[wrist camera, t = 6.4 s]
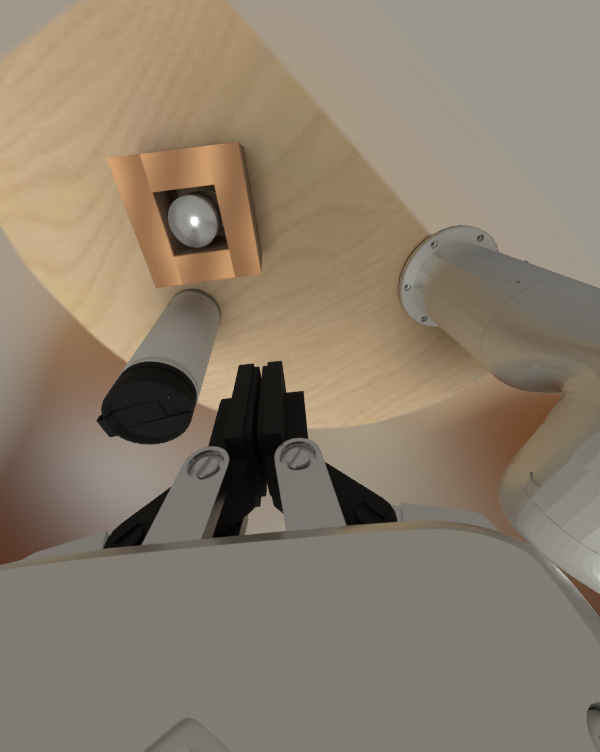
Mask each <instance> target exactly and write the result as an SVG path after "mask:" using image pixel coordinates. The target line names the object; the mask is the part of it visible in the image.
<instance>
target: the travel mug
mask: <svg viewBox="0 0 600 752" xmlns="http://www.w3.org/2000/svg"><path fill="white" fill-rule="evenodd" d="M220 318H221V316H220V310H219V307H218V305H217V303H216V302H215V301H214V299H212V298H211V297H210V296H209V295H207V294H206V293H204V292H201V291H198V290H184V291H181V292H179V293H178V294H176V295H175V296H174V297H173V298H172V300H171V301H170V303H169V304H168V306H167V307H166V309H165V310H164V311H163V313H162V314H161V316H160V317H159V319H158V320H157V322H156V323H155V324H154V326H153V327H152V329H151V330H150V332H149V333H148V335H147V336H146V337H145V339H144V340H143V342H142V343H141V345H140V346H139V348H138V349H137V350H136V352H135V353H134V355H133V356H132V358H131V359H130V361H129V362H128V363H127V365H126V367H125V368H124V369H123V371H122V372H121V374H120V375H119V377H118V380H117V381H116V382H115V384H114V385H113V387H112V388H111V389H110V391H109V393H108V394H107V395H106V397H105V399H104V400H103V403H102V408H101V409H102V410H101V411H102V415H100V416H99V417H98V419H97V422H98V423H99V425H100V426H101V427H102V428H103V430H104V431H105V432H106V433H107V435H108V436H109V437H114V436H120V437H121V438H123V439H125V440H127V441H131V442H134V443H139V444H160V443H165V442H168V441H170V440H173V439H175V438H177V437H178V436H180V435H181V434H182V433H184V432H185V431H186V429H187V428H188V426H189V425H190V422H191V419H192V416H193V412H194V408H195V406H196V404H197V401H198V397H199V394H200V390H201V387H202V383H203V380H204V376H205V373H206V369H207V365H208V362H209V358H210V355H211V351H212V348H213V344H214V341H215V337H216V334H217V330H218V326H219V323H220Z"/></svg>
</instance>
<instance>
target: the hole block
mask: <svg viewBox="0 0 600 752" xmlns="http://www.w3.org/2000/svg"><path fill="white" fill-rule="evenodd" d="M107 161H108V164H109V166H110V169H111V172H112V174H113V177H114V179H115V182H116V185H117V187H118V190H119V192H120V195H121V198H122V200H123V203H124V205H125V208H126V211H127V213H128V216H129V218H130V221H131V224H132V226H133V229H134V231H135V234H136V237H137V239H138V242H139V244H140V247H141V250H142V252H143V255H144V258H145V260H146V263H147V265H148V268H149V271H150V273H151V276H152V278H153V281H154V284H155V286H156V288H160V287H167V286H175V285H182V284H189V283H197V282H204V281H212V280H219V279H226V278H234V277H241V276H248V275H256V274H261V263H262V253H261V247H260V241H259V235H258V229H257V224H256V218H255V212H254V206H253V200H252V194H251V188H250V182H249V176H248V170H247V164H246V159H245V153H244V147H243V146H242V145H241V144H240V143H239V142H232V143H224V144H216V145H208V146H200V147H192V148H184V149H176V150H168V151H161V152H153V153H145V154H137V155H129V156H121V157H113V158H107ZM206 185H214V186H215V190H216V195H217V199H218V204H219V208H220V213H221V217H222V221H223V226H224V230H225V235H222V236H215V237H214V239H213V240H212V241H211V242H210V243H209V244H208V245H206V246H203V247H198V248H196V247H190V246H187V245H185V244H183V243H182V242H180V241H179V240H178V239H177V238H176V237H175V235H174V234H173V232H172V231H171V229H170V226H169V222H168V212H169V208H170V206H171V204H172V203H173V202H174V201H175V200H176V199H177V198H179V197H178V193H177V190H176V189H183V188H191V187H198V186H206Z"/></svg>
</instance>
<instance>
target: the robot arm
mask: <svg viewBox="0 0 600 752" xmlns="http://www.w3.org/2000/svg"><path fill="white" fill-rule="evenodd" d="M432 242H433V244H432V245H431V243H432ZM405 285H406V287H405ZM399 298H400V302H401V305H402V307H403V309H404V310H405V312H406V313H407V314H408V315H409V316H410V317H411V318H412V319H413V320H414V321H416V322H418V323H419V324H422V325H426V326H431V327H441V328H442V329H443V330H444V331H445V332H446V333H447V334H448V335H449V336H451V337H452V338H453V339H454V340H455V341H456V342H457V343H458V344H459V345H461V346H462V347H463V348H464V349H465V350H466V351H467V352H468V353H469V354H471V355H472V356H473V357H474V358H475V359H476V360H477V361H478V362H479V363H481V364H482V365H483V366H484V367H485V368H486V369H487V370H488V371H489V372H490V373H492V374H493V375H494V376H495V377H496V378H497V379H499V380H500V381H501V382H503V383H505V384H507V385H509V386H511V387H513V388H516V389H519V390H523V391H529V392H538V393H562V395H561V398H560V400H559V402H558V403H557V404H556V406H555V407H554V408H553V410H552V411H551V412H550V413H549V415H548V416H547V419H546V420H545V421H544V422H543V424H542V425H541V426H540V427H539V428H538V430H537V431H536V432H535V433H534V434H533V435H532V437H531V438H530V439H529V440H528V442H527V443H526V444H525V445H524V446H523V447H522V449H521V450H520V451H519V452H518V453H517V455H516V456H515V457H514V458H513V460H512V461H511V462H510V463H509V465H508V466H507V468H506V469H505V471H504V472H503V474H502V476H501V479H500V482H499V487H498V496H499V500H500V504H501V506H502V509H503V510H504V513H505V514H506V516H507V518H508V520H509V521H510V522H511V524H512V525H513V526H514V528H515V529H516V530H517V531H518V532H519V533H520V535H521V536H522V537H523V538H524V539H525V540H526V541H527V542H528V543H529V544H531V545H532V546H533V547H534V548H533V547H532V546H530V545H528V544H527V543H525V542H523V541H521V540H518V539H516V538H513V537H511V536H509V535H506V534H504V533H501V532H498V531H497V529H496V527H495V526H494V525H493V524H492V523H491V522H490V521H489V520H488V519H487V518H485V517H483V516H482V515H480V514H478V513H474V512H471V511H466V510H458V509H449V508H441V507H433V506H424V505H416V504H408V503H402V504H401V506H395V505H390V504H389V503H388V502H387V501H385V499H383V498H382V497H380V496H379V495H377V494H375V493H374V492H372V491H370V490H369V489H367V488H366V487H364V486H363V485H361V484H359V483H358V482H356V481H355V480H353V479H351V478H350V477H348V476H347V475H345V474H343V473H342V472H340V471H339V470H337V469H335V468H334V467H332V466H330V465H329V464H327V463H326V462H324V459H323V456H322V453H321V450H320V448H319V447H318V445H317V444H316V443H314V442H313V441H311V440H309V439H308V434H307V423H306V413H305V402H304V392H303V391H299V392H289V393H286V387H285V380H284V373H283V366H282V361H275V362H268V366H263V369H262V378H261V373H260V368H259V367H254V364H245V365H239V367H238V372H237V376H236V381H235V385H234V390H233V394H232V398H228V399H222V400H221V402H220V405H219V409H218V413H217V416H216V420H215V424H214V428H213V431H212V435H211V439H210V442H209V446H208V447H205V448H202V449H199V450H198V451H196V452H194V453H192V454H191V455H190V456H189V457H188V458H187V459H186V461H185V462H184V464H183V465H182V467H181V469H180V471H179V473H178V475H177V477H176V479H175V481H174V483H173V485H172V487H170V488H169V489H167V490H166V491H165V492H163V493H162V494H161V495H159V496H158V497H157V498H155V499H154V500H153V501H151V502H150V503H149V504H147V505H146V506H144V507H143V508H142V509H140V510H139V511H138V512H136V513H135V514H134V515H132V516H131V517H130V518H128V519H127V520H126V521H124V522H123V523H121V525H119V526H118V527H117V528H116V529H115V530H114V531H113V532H112V533H111V534H108V533H107V532H106V531H105V532H102V533H98V534H95V535H92V536H88V537H85V538H82V539H79V540H75V541H72V542H69V543H66V544H62V545H59V546H56V547H53V548H49V549H46V550H42V551H39V552H37V553H34V554H32V555H30V556H28V557H26V558H25V559H24V560H21V561H17V562H13V563H8V564H4V565H0V752H600V618H599V616H598V615H597V614H596V612H595V611H594V610H593V608H592V607H591V606H590V605H589V603H588V602H587V601H586V600H585V598H584V597H583V596H582V595H581V593H580V592H579V591H578V590H577V589H576V587H575V586H574V585H573V584H572V583H571V582H570V580H569V579H568V578H567V577H566V576H565V575H564V574H563V573H562V572H561V571H560V570H559V569H558V567H560V568H561V569H562V570H564V571H565V572H567V573H568V574H570V575H571V576H573V577H574V578H576V579H577V580H579V581H580V582H582V583H583V584H585V585H586V586H588V587H590V588H591V589H593V590H594V591H596V592H597V593H599V594H600V288H597V287H594V286H591V285H588V284H586V283H583V282H580V281H577V280H574V279H571V278H568V277H565V276H563V275H560V274H557V273H554V272H552V271H549V270H546V269H543V268H541V267H538V266H535V265H532V264H529V262H528V261H521V260H518V259H516V258H513V257H510V256H507V255H504V254H502V253H499V250H498V247H497V244H496V243H495V241H494V240H493V238H492V237H491V236H490V235H489V234H488V233H486V232H485V231H482V230H481V229H478V228H475V227H471V226H462V225H461V226H453V227H449V228H446V229H443V230H440V231H438V232H437V233H435V234H433V235H431V236H430V237H428V238H427V239H426V240H425V241H423V242H422V243H421V244H420V245H419V246H418V247H417V248H416V249H415V250H414V252H413V253H412V254H411V256H410V257H409V259H408V260H407V262H406V264H405V266H404V268H403V271H402V274H401V277H400V282H399ZM267 484H268V489H269V493H270V495H271V496H272V499H273V504H274V506H275V507H276V508H277V509H278V510H280V511H281V512H282V513H283V514H284V520H285V526H286V531H284V532H272V533H261V534H251V535H245V532H246V528H247V524H248V514H249V513H250V512H251V511H252V510H253V509H254V508H255V507H260V504H261V497H263V496H266V491H267ZM556 565H557V566H558V567H556Z"/></svg>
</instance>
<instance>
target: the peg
mask: <svg viewBox="0 0 600 752" xmlns="http://www.w3.org/2000/svg"><path fill="white" fill-rule="evenodd" d="M168 222H169V226H170V229H171V231H172V232H173V234H174V235H175V237H176V238H177V239H178V240H179V241H180V242H182V243H183V244H185V245H187V246H190V247H196V248H198V247H203V246H206V245H208V244H209V243H210V242H211V241H212V240H213V239H214V237H215V236H216V234H217V233H218V231H219V230H220V229H221V227H222V226H223V221H222V217H221V213H220V208H219V204H218V199H217V195H216V194H215V193H214V192H212V191H209V190H198V191H196V192H193V193H190V194H187V195H184V196H182V197H179V198H177V199H176V200H175V201H174V202H173V203H172V204H171V206H170V208H169V212H168Z"/></svg>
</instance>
